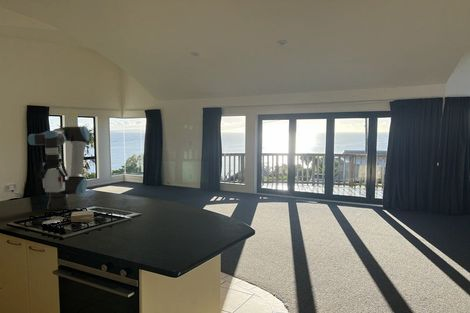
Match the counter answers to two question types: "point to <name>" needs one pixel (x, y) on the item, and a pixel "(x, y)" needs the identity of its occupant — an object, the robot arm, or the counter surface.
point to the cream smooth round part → (51, 221)
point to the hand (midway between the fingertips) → (53, 187)
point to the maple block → (82, 216)
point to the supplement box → (53, 181)
